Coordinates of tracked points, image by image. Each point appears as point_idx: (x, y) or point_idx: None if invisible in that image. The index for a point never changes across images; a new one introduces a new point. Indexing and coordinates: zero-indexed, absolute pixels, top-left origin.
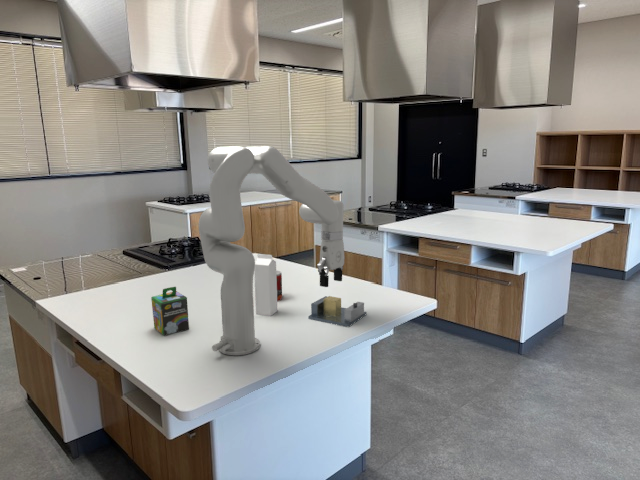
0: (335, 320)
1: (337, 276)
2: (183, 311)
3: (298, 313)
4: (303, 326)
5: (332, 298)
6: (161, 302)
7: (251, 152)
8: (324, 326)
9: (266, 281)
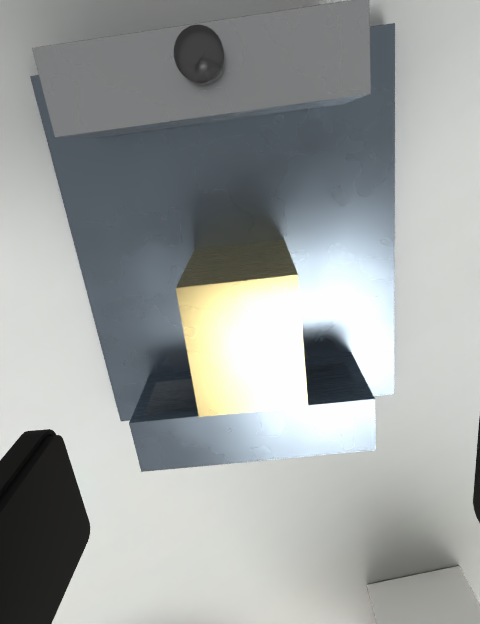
0: (371, 179)
1: (44, 537)
2: None
3: (336, 482)
4: None
5: (241, 351)
6: None
7: None
8: (463, 207)
9: None
